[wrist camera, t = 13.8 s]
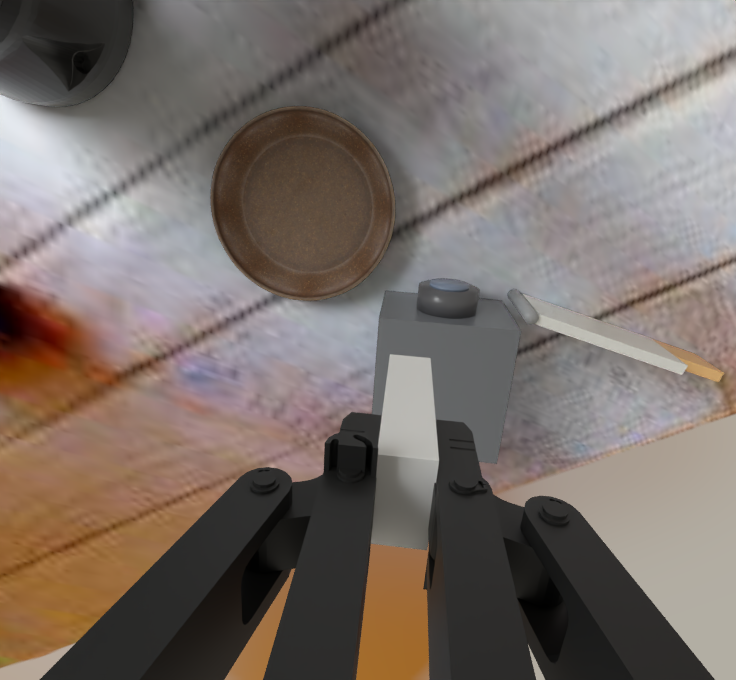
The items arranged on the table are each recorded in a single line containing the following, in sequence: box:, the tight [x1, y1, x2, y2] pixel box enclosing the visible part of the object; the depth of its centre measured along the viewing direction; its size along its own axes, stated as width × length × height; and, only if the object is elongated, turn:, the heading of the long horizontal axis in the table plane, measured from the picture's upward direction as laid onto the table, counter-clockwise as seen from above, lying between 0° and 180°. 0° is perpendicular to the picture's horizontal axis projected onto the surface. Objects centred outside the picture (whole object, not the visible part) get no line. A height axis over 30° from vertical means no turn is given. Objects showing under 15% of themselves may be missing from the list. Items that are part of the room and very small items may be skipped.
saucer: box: [210, 106, 395, 301], centre depth 39 cm, size 15×15×3 cm
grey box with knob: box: [372, 279, 521, 464], centre depth 39 cm, size 13×10×9 cm
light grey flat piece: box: [508, 289, 724, 382], centre depth 38 cm, size 16×1×7 cm, turn 72°
